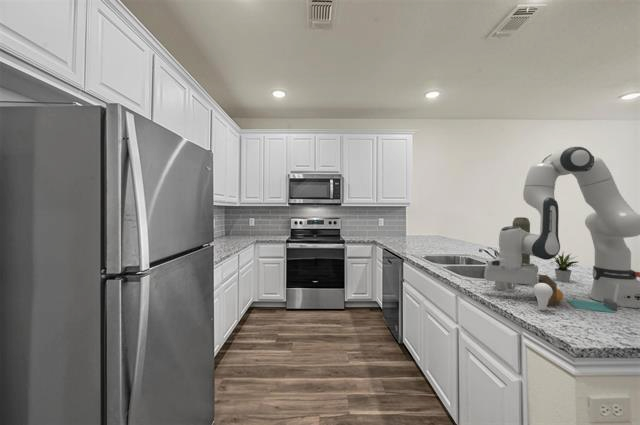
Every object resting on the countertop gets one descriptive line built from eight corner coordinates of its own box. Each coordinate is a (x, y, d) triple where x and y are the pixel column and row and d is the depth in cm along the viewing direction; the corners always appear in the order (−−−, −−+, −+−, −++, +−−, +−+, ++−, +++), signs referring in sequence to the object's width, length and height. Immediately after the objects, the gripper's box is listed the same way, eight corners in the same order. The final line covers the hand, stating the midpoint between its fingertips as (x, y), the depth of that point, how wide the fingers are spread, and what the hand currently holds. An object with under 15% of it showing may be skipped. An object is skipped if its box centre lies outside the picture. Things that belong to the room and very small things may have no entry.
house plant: (551, 283, 151) (552, 252, 151) (539, 277, 164) (539, 248, 164) (584, 285, 147) (584, 253, 147) (569, 278, 161) (569, 249, 160)
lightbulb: (553, 314, 109) (554, 286, 108) (533, 311, 112) (534, 283, 112) (551, 309, 114) (551, 282, 114) (532, 306, 117) (532, 280, 117)
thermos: (532, 282, 154) (533, 217, 153) (528, 286, 146) (529, 218, 145) (513, 279, 160) (513, 217, 159) (508, 283, 152) (508, 217, 151)
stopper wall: (609, 306, 117) (610, 298, 117) (617, 311, 112) (617, 303, 112) (603, 305, 118) (603, 298, 118) (610, 310, 113) (610, 302, 113)
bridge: (546, 296, 130) (546, 275, 130) (556, 307, 117) (556, 283, 117) (538, 295, 132) (538, 274, 131) (547, 305, 118) (547, 282, 118)
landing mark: (601, 303, 121) (601, 302, 121) (615, 313, 110) (615, 312, 110) (565, 299, 126) (565, 298, 126) (575, 308, 115) (575, 307, 115)
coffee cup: (517, 292, 137) (518, 261, 136) (497, 291, 139) (497, 260, 138) (509, 286, 146) (509, 257, 145) (489, 285, 148) (490, 257, 147)
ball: (563, 295, 124) (553, 283, 125) (569, 299, 118) (557, 287, 120) (550, 302, 126) (540, 290, 127) (554, 306, 121) (544, 294, 122)
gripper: (536, 262, 128) (536, 293, 128) (484, 259, 137) (483, 287, 137) (540, 265, 122) (539, 297, 123) (485, 261, 131) (484, 291, 132)
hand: (509, 292), depth 130 cm, fingers closed
